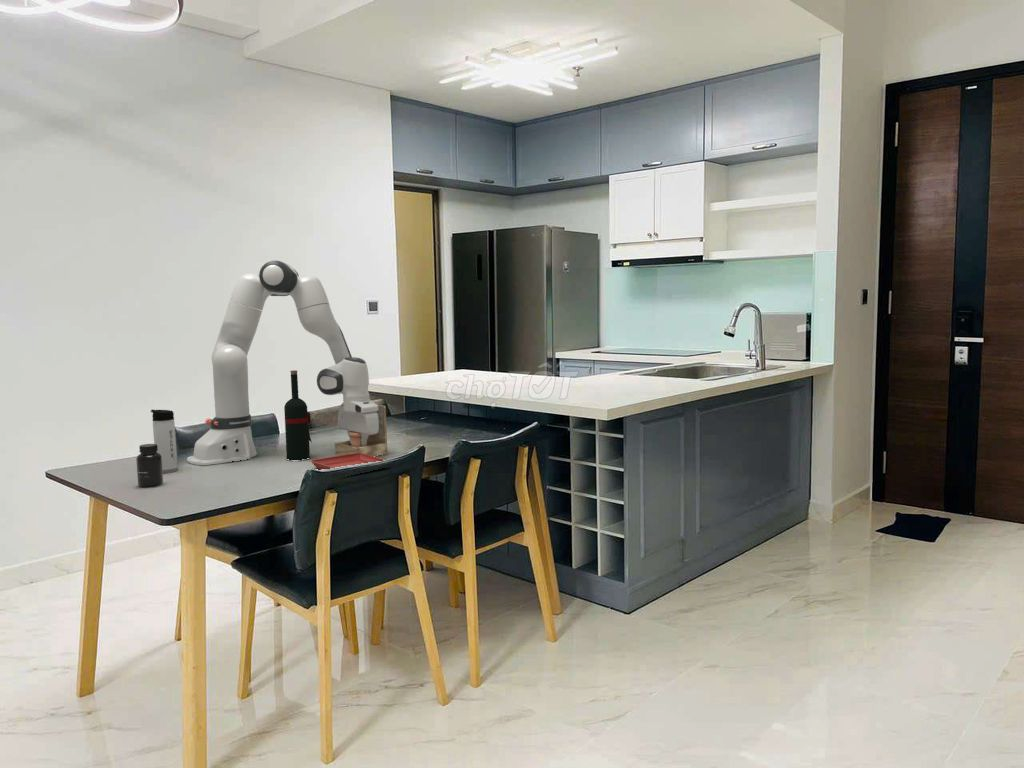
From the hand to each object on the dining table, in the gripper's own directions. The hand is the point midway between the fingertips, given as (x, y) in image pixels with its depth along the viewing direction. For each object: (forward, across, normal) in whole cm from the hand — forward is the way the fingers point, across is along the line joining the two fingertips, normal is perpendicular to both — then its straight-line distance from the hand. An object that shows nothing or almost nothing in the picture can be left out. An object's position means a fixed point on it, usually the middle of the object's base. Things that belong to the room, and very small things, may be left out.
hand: (358, 444), depth 264 cm
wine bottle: (+4, -11, -16) cm, 20 cm away
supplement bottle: (+4, -11, -65) cm, 66 cm away
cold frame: (+4, 0, +1) cm, 4 cm away
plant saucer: (+4, +16, -14) cm, 22 cm away
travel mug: (+4, -26, -55) cm, 61 cm away
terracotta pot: (+4, 0, 0) cm, 4 cm away
